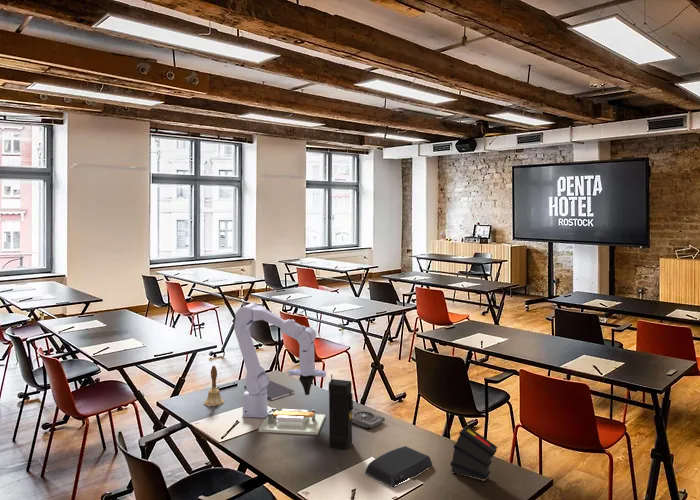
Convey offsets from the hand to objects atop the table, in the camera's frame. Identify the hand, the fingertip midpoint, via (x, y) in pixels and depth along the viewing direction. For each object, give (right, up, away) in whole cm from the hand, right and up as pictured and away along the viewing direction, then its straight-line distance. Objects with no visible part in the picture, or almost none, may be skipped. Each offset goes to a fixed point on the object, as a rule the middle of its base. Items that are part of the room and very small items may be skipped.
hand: (307, 394), depth 206 cm
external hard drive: (+32, -14, -39) cm, 52 cm away
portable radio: (+14, -12, -22) cm, 28 cm away
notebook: (-20, -8, +32) cm, 38 cm away
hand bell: (-41, -9, +18) cm, 45 cm away
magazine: (+54, -14, -43) cm, 71 cm away
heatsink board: (-5, -10, -4) cm, 12 cm away
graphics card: (+20, -11, -2) cm, 23 cm away
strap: (-6, -7, -4) cm, 10 cm away
